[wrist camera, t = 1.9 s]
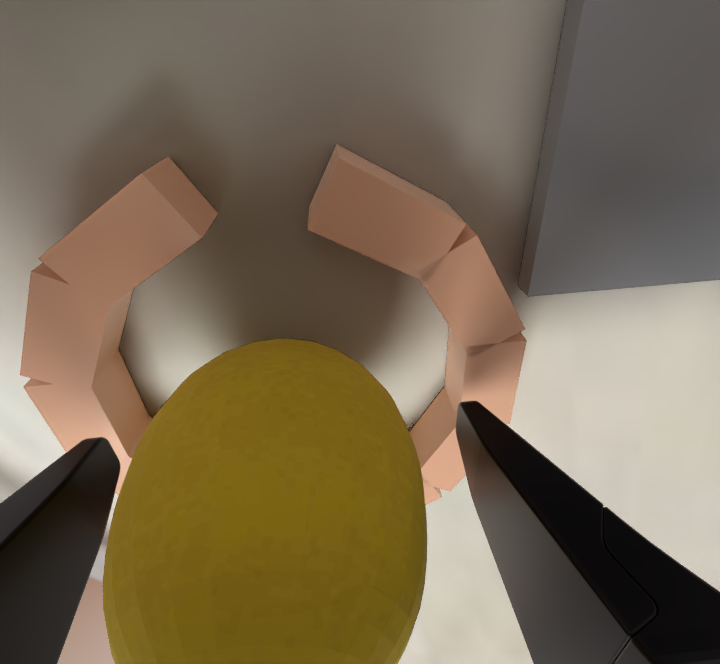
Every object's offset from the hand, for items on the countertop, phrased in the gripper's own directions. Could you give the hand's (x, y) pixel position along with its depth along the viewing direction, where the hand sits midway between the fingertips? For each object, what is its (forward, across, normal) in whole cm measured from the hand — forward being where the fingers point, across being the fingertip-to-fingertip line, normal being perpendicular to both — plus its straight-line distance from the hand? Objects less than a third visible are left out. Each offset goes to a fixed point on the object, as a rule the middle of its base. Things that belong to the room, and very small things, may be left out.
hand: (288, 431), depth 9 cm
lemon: (+2, 0, 0) cm, 2 cm away
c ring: (+2, 0, 0) cm, 2 cm away
